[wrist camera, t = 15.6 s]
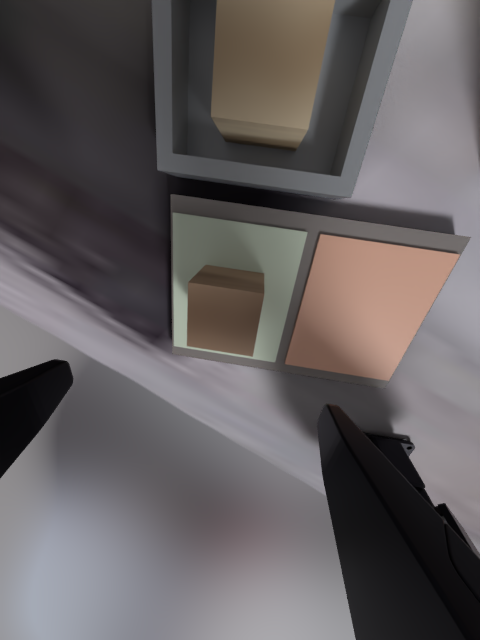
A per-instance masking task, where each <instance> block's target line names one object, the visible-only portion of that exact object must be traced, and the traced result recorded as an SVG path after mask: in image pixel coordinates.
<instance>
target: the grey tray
mask: <svg viewBox="0 0 480 640" xmlns="http://www.w3.org/2000/svg"><path fill="white" fill-rule="evenodd" d="M412 1H413V0H335V4H334V9H333V13H332V18H331V23H330V28H329V32H328V37H327V42H326V47H325V52H324V56H323V61H322V66H321V71H320V75H319V80H318V85H317V90H316V94H315V99H314V104H313V109H312V114H311V118H310V123H309V128H308V131H307V133H306V134H305V136H304V138H303V140H302V141H301V143H300V145H299V146H298V148H297V150H296V151H289V150H282V149H275V148H267V147H260V146H253V145H245V144H238V143H231V142H225V140H224V138H223V137H222V135H221V133H220V132H219V130H218V128H217V126H216V125H215V123H214V121H213V120H212V118H211V102H212V83H213V64H214V45H215V26H216V7H217V0H152V26H153V55H154V84H155V114H156V143H157V170H159V171H162V172H164V173H167V174H170V175H173V176H176V177H181V178H188V179H195V180H202V181H209V182H216V183H223V184H230V185H238V186H245V187H252V188H259V189H266V190H273V191H280V192H287V193H294V194H301V195H308V196H315V197H322V198H329V199H342V198H351V197H352V193H353V190H354V187H355V184H356V181H357V177H358V174H359V171H360V168H361V165H362V161H363V158H364V155H365V152H366V149H367V145H368V142H369V139H370V136H371V133H372V129H373V126H374V123H375V120H376V117H377V113H378V110H379V107H380V104H381V101H382V97H383V94H384V91H385V88H386V85H387V81H388V78H389V75H390V72H391V69H392V65H393V62H394V59H395V56H396V53H397V49H398V46H399V43H400V40H401V37H402V33H403V30H404V27H405V24H406V21H407V17H408V14H409V11H410V8H411V5H412Z"/></svg>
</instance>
